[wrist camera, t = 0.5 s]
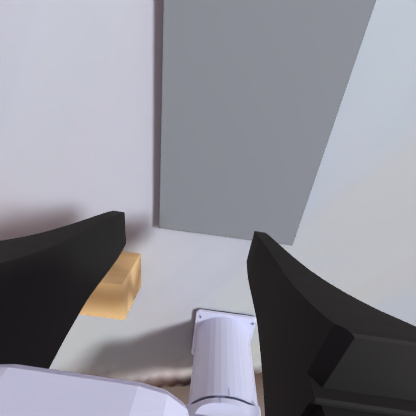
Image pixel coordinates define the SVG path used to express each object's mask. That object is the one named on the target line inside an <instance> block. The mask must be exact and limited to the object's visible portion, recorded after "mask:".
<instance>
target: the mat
mask: <svg viewBox="0 0 416 416" xmlns="http://www.w3.org/2000/svg"><path fill="white" fill-rule="evenodd" d="M375 2H376V0H164V13H163V65H162V117H161V168H160V220H159V228H163V229H170V230H178V231H185V232H193V233H201V234H208V235H216V236H224V237H231V238H239V239H246V240H252V239H253V235H254V231H258V232H265V233H267V234H268V235H269V236H270V237H272V238H273V239H274V240H275V241H276V242H277V243H278V244H285V245H293V242H294V239H295V236H296V233H297V230H298V227H299V224H300V221H301V218H302V215H303V212H304V209H305V207H306V204H307V201H308V198H309V195H310V192H311V189H312V186H313V183H314V180H315V177H316V174H317V172H318V169H319V166H320V163H321V160H322V157H323V154H324V151H325V148H326V145H327V142H328V139H329V136H330V134H331V131H332V128H333V125H334V122H335V119H336V116H337V113H338V110H339V107H340V104H341V101H342V98H343V96H344V93H345V90H346V87H347V84H348V81H349V78H350V75H351V72H352V69H353V66H354V63H355V61H356V58H357V55H358V52H359V49H360V46H361V43H362V40H363V37H364V34H365V31H366V28H367V25H368V23H369V20H370V17H371V14H372V11H373V8H374V5H375Z"/></svg>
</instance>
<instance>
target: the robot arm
mask: <svg viewBox="0 0 416 416" xmlns="http://www.w3.org/2000/svg"><path fill="white" fill-rule="evenodd" d="M125 244H126V237H125V214H124V212H118V211H111V212H107V213H103V214H100V215H97V216H94V217H91V218H89V219H86V220H83V221H80V222H77V223H74V224H70V225H67V226H64V227H61V228H57V229H54V230H50V231H47V232H43V233H39V234H34V235H30V236H25V237H20V238H15V239H9V240H4V241H0V416H261V411H260V407H259V406H258V403H257V395H256V387H255V379H254V371H253V364H252V356H251V348H250V341H251V337H252V334H253V331H254V328H255V325H256V321H257V324H258V333H259V342H260V352H261V363H262V375H263V388H264V403H265V416H416V327H415V326H413V325H411V324H409V323H406V322H404V321H402V320H400V319H397V318H395V317H393V316H391V315H388V314H386V313H384V312H381V311H379V310H377V309H375V308H373V307H371V306H369V305H367V304H365V303H363V302H361V301H359V300H357V299H356V298H354V297H352V296H350V295H348V294H346V293H345V292H343V291H341V290H340V289H338V288H336V287H335V286H333V285H331V284H330V283H328V282H326V281H325V280H323V279H322V278H320V277H319V276H317V275H316V274H315V273H313V272H312V271H310V270H309V269H308V268H306V267H305V266H304V265H302V264H301V263H300V262H299V261H297V260H296V259H295V258H294V257H293V256H291V255H290V254H289V253H288V252H287V251H286V250H285V249H283V248H282V247H281V246H280V245H279V244H278V243H277V242H276V241H275V240H274V239H273V238H272V237H270V236H269V235H268V234H267V233H265V232H258V231H254V235H253V239H252V243H251V247H250V251H249V255H248V258H247V272H248V280H249V285H250V290H251V294H252V299H253V304H254V308H255V313H256V317H254V316H248V315H240V314H233V313H225V312H218V311H210V310H203V309H198V310H197V311H196V319H195V327H194V334H193V342H192V349H191V354H192V355H194V360H193V369H192V378H191V386H190V395H189V404H188V405H184V403H183V402H182V401H180V400H179V399H178V398H176V397H175V396H173V395H172V394H171V393H169V392H168V391H167V390H165V389H161V388H158V387H154V386H151V385H148V384H144V383H141V382H135V381H128V380H121V379H114V378H107V377H100V376H94V375H87V374H80V373H73V372H66V371H59V370H53V369H49V367H50V365H51V363H52V361H53V360H54V358H55V356H56V354H57V352H58V350H59V348H60V346H61V345H62V343H63V341H64V339H65V337H66V335H67V334H68V332H69V330H70V328H71V327H72V325H73V323H74V321H75V320H76V318H77V316H78V315H79V313H80V311H81V310H82V308H83V306H84V305H85V303H86V301H87V300H88V298H89V297H90V295H91V294H92V293H93V291H94V290H95V289H96V287H97V286H98V285H99V283H100V282H101V281H102V279H103V278H104V277H105V275H106V274H107V273H108V271H109V270H110V269H111V267H112V266H113V265H114V263H115V262H116V260H117V259H118V257H119V256H120V254H121V252H122V250H123V248H124V246H125ZM256 318H257V320H256Z"/></svg>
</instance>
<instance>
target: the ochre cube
mask: <svg viewBox="0 0 416 416" xmlns="http://www.w3.org/2000/svg"><path fill="white" fill-rule="evenodd" d="M140 287H141V259H140V254H138V253H131V252H123V251H122V252H121V254H120V256H119V257H118V259H117V260H116V262H115V263H114V265H113V266H112V267H111V269H110V270H109V271H108V273H107V274H106V275H105V277H104V278H103V279H102V281H101V282H100V283H99V285H98V286H97V287H96V289H95V290H94V291H93V293H92V294H91V295H90V297H89V298H88V300H87V301H86V303H85V305H84V306H83V308H82V310H81V311H80V313H79V314H82V315H90V316H97V317H105V318H112V319H120V320H125V318H126V316H127V314H128V312H129V310H130V308H131V306H132V304H133V301H134V299H135V297H136V295H137V293H138V291H139V289H140Z"/></svg>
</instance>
